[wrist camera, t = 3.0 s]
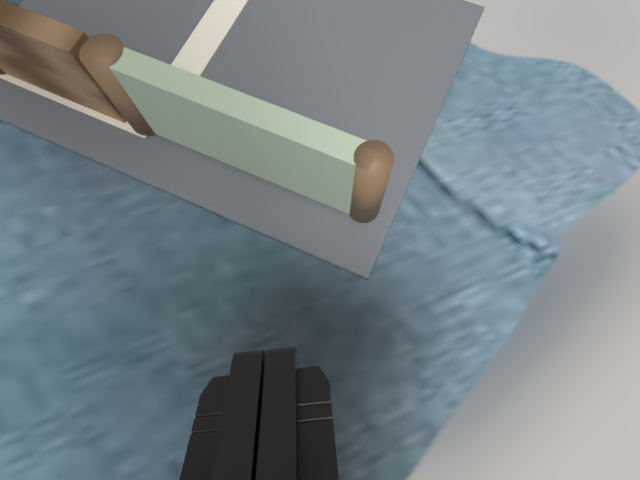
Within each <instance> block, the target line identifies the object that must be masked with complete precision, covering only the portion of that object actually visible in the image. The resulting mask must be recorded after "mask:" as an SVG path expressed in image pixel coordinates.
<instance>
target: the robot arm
mask: <svg viewBox="0 0 640 480" xmlns="http://www.w3.org/2000/svg"><path fill="white" fill-rule="evenodd" d="M180 480H338V470H337V459H336V449H335V439H334V429H333V419H332V408H331V398H330V388H329V381H328V380H327V378H326V377H325V375H324V374H323V372H322V371H321V369H320V368H319V366H318V367H308V368H299V362H298V355H297V349H296V347H290V348H280V349H270V350H267V351H266V354H265V351H264V350H261V351H251V352H241V353H234V355H233V359H232V364H231V370H230V376H220V377H213V378H212V380H211V381H210V382H209V384H208V385H207V387H206V388H205V389H204V391H203V392H202V393H201V395H200V399H199V403H198V407H197V411H196V418H195V419H194V423H193V427H192V435H191V436H190V440H189V444H188V448H187V452H186V456H185V460H184V464H183V468H182V472H181V476H180Z"/></svg>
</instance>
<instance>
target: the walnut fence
mask: <svg viewBox="0 0 640 480" xmlns="http://www.w3.org/2000/svg"><path fill="white" fill-rule="evenodd" d="M88 39H89V37H88V36H87V35H86V33H85V32H84V31H81V30H79V29H76V28H74V27H71V26H69V25H66V24H63V23H61V22H58V21H56V20H53V19H50V18H48V17H45V16H43V15H40V14H37V13H35V12H32V11H30V10H27V9H24V8H22V7H19V6H17V5H14V4H11V3H9V2H6V1H4V0H0V75H5V74H7V75H10V76H12V77H15V78H17V79H19V80H22V81H24V82H27V83H29V84H31V85H34V86H36V87H39V88H41V89H44V90H46V91H48V92H51V93H53V94H56V95H58V96H60V97H63V98H65V99H68V100H70V101H72V102H75V103H77V104H80V105H82V106H84V107H87V108H89V109H92V110H94V111H97V112H99V113H101V114H104V115H106V116H109V117H111V118H113V119H116V120H118V121H121V122H123V123H126V122H127V120H126V119H125V118H124V117H123V115H122V114H121V113H120V111H119V110H118V109H117V108H116V106H115V105H114V104H113V102H112V101H111V100H110V98H109V97H108V96H107V95H106V93H105V92H104V91H103V89H102V88H101V87H100V86H99V84H98V83H97V82H96V80H95V79H94V78H93V77H92V75H91V74H90V73H89V71H88V70H87V69H86V67H85V66H84V65H83V64H82V62H81V61H80V58H79V51H80V48H81V46H82V45H83V43H84V42H85V41H86V40H88Z"/></svg>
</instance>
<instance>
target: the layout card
mask: <svg viewBox="0 0 640 480" xmlns="http://www.w3.org/2000/svg"><path fill="white" fill-rule="evenodd" d="M19 7H22V8H24V9H27V10H30V11H32V12H35V13H37V14H40V15H43V16H45V17H48V18H50V19H53V20H56V21H58V22H61V23H63V24H66V25H69V26H71V27H74V28H76V29H79V30H81V31H84V32H85V33H86V35H87V36H88V37H89V38H90V37H92V36H95V35H98V34H112V35H114V36H116V37H118V38H119V39H120V40H121V42H122V43H123V45H124V47H126V48H128V49H131V50H133V51H136V52H139V53H141V54H144V55H146V56H149V57H152V58H154V59H157V60H159V61H162V62H164V63H167V64H170V65H172V66H175V67H177V68H180V69H183V70H185V71H188V72H190V73H193V74H196V75H198V76H201V77H203V78H206V79H209V80H211V81H214V82H216V83H219V84H222V85H224V86H227V87H229V88H232V89H234V90H237V91H240V92H242V93H245V94H247V95H250V96H253V97H255V98H258V99H260V100H263V101H266V102H268V103H271V104H273V105H276V106H279V107H281V108H284V109H286V110H289V111H292V112H294V113H297V114H299V115H302V116H304V117H307V118H310V119H312V120H315V121H317V122H320V123H323V124H325V125H328V126H330V127H333V128H336V129H338V130H341V131H343V132H346V133H349V134H351V135H354V136H356V137H359V138H362V139H364V140H367V141H368V140H378V141H382V142H384V143H386V144H387V145H388V146H389V147H390V148H391V149H392V151H393V154H394V163H393V167H392V170H391V173H390V177H389V180H388V183H387V187H386V190H385V193H384V197H383V200H382V203H381V207H380V210H379V213H378V216H377V217H376V218H375V219H374V220H373V221H371V222H368V223H359V222H357V221H355V220H354V219H352V218H351V216H350V215H349V214H347V213H345V212H342V211H340V210H337V209H335V208H333V207H330V206H328V205H325V204H323V203H321V202H318V201H316V200H313V199H311V198H308V197H306V196H304V195H301V194H299V193H296V192H294V191H292V190H289V189H287V188H284V187H282V186H280V185H277V184H275V183H272V182H270V181H267V180H265V179H263V178H260V177H258V176H255V175H253V174H251V173H248V172H246V171H243V170H241V169H239V168H236V167H234V166H231V165H229V164H226V163H224V162H222V161H219V160H217V159H214V158H212V157H210V156H207V155H205V154H202V153H200V152H197V151H195V150H193V149H190V148H188V147H185V146H183V145H181V144H178V143H176V142H173V141H171V140H169V139H166V138H164V137H161V136H159V135H156V134H153V135H140V134H138V133H137V132H135V131H134V129H133V128H132V127H131V126H130V124H129V123H128V122H126V123H123V122H121V121H118V120H116V119H113V118H111V117H109V116H106V115H104V114H101V113H99V112H97V111H94V110H92V109H89V108H87V107H84V106H82V105H80V104H77V103H75V102H72V101H70V100H68V99H65V98H63V97H60V96H58V95H56V94H53V93H51V92H48V91H46V90H44V89H41V88H39V87H36V86H34V85H31V84H29V83H27V82H24V81H22V80H19V79H17V78H15V77H12V76H10V75H7V74H5V75H0V120H1V121H3V122H5V123H8V124H10V125H12V126H15V127H17V128H19V129H21V130H24V131H26V132H28V133H31V134H33V135H35V136H38V137H40V138H42V139H44V140H47V141H49V142H51V143H54V144H56V145H58V146H61V147H63V148H65V149H67V150H70V151H72V152H74V153H77V154H79V155H81V156H84V157H86V158H88V159H90V160H93V161H95V162H97V163H100V164H102V165H104V166H107V167H109V168H111V169H113V170H116V171H118V172H120V173H123V174H125V175H127V176H130V177H132V178H134V179H136V180H139V181H141V182H143V183H146V184H148V185H150V186H153V187H155V188H157V189H159V190H162V191H164V192H166V193H169V194H171V195H173V196H176V197H178V198H180V199H182V200H185V201H187V202H189V203H192V204H194V205H196V206H199V207H201V208H203V209H205V210H208V211H210V212H212V213H215V214H217V215H219V216H221V217H224V218H226V219H228V220H231V221H233V222H235V223H238V224H240V225H242V226H244V227H247V228H249V229H251V230H254V231H256V232H258V233H261V234H263V235H265V236H267V237H270V238H272V239H274V240H277V241H279V242H281V243H284V244H286V245H288V246H290V247H293V248H295V249H297V250H300V251H302V252H304V253H307V254H309V255H311V256H313V257H316V258H318V259H320V260H323V261H325V262H327V263H330V264H332V265H334V266H336V267H339V268H341V269H343V270H346V271H348V272H350V273H353V274H355V275H357V276H359V277H362V278H364V279H366V280H368V277H369V275H370V273H371V270H372V268H373V266H374V263H375V261H376V259H377V256H378V254H379V252H380V249H381V247H382V245H383V242H384V240H385V238H386V236H387V233H388V231H389V229H390V226H391V224H392V222H393V219H394V217H395V215H396V212H397V210H398V208H399V205H400V203H401V201H402V198H403V196H404V194H405V191H406V189H407V187H408V184H409V182H410V180H411V178H412V175H413V173H414V171H415V168H416V166H417V164H418V161H419V159H420V157H421V154H422V152H423V150H424V147H425V145H426V143H427V140H428V138H429V136H430V133H431V131H432V129H433V126H434V124H435V122H436V119H437V117H438V115H439V113H440V110H441V108H442V106H443V103H444V101H445V99H446V96H447V94H448V92H449V89H450V87H451V85H452V82H453V80H454V78H455V75H456V73H457V71H458V68H459V66H460V64H461V61H462V59H463V57H464V55H465V52H466V50H467V48H468V45H469V43H470V41H471V38H472V36H473V34H474V31H475V29H476V26H477V24H478V22H479V20H480V17H481V15H482V13H483V10H484V7H482V6H479V5H476V4H473V3H470V2H467V1H464V0H23V1H22V2H21V3H20V5H19Z"/></svg>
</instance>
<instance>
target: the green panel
mask: <svg viewBox="0 0 640 480" xmlns="http://www.w3.org/2000/svg"><path fill="white" fill-rule="evenodd" d="M79 58H80V61H81V62H82V64H83V65H84V66H85V67H86V69H87V70H88V71H89V73H90V74H91V75H92V77H93V78H94V79H95V80H96V82H97V83H98V84H99V86H100V87H101V88H102V89H103V91H104V92H105V93H106V95H107V96H108V97H109V98H110V100H111V101H112V102H113V104H114V105H115V106H116V108H117V109H118V110H119V111H120V113H121V114H122V115H123V117H124V118H125V119H126V120H127V122H128V123H129V124H130V126H131V127H132V128H133V129H134V131H135V132H137V133H138V134H140V135H153V134H156V135H159V136H161V137H164V138H166V139H169V140H171V141H173V142H176V143H178V144H181V145H183V146H185V147H188V148H190V149H193V150H195V151H197V152H200V153H202V154H205V155H207V156H210V157H212V158H214V159H217V160H219V161H222V162H224V163H226V164H229V165H231V166H234V167H236V168H239V169H241V170H243V171H246V172H248V173H251V174H253V175H255V176H258V177H260V178H263V179H265V180H267V181H270V182H272V183H275V184H277V185H280V186H282V187H284V188H287V189H289V190H292V191H294V192H296V193H299V194H301V195H304V196H306V197H308V198H311V199H313V200H316V201H318V202H321V203H323V204H325V205H328V206H330V207H333V208H335V209H337V210H340V211H342V212H345V213H347V214H349V215H350V216H351V218H352V219H354V220H355V221H357V222H359V223H368V222H371V221H373V220H374V219H375V218H376V217H377V216H378V213H379V210H380V207H381V203H382V200H383V197H384V193H385V190H386V187H387V183H388V180H389V177H390V173H391V170H392V167H393V163H394V154H393V151H392V149H391V148H390V147H389V146H388V145H387V144H386V143H384V142H382V141H378V140H368V141H367V140H364V139H362V138H359V137H356V136H354V135H351V134H349V133H346V132H343V131H341V130H338V129H336V128H333V127H330V126H328V125H325V124H323V123H320V122H317V121H315V120H312V119H310V118H307V117H304V116H302V115H299V114H297V113H294V112H292V111H289V110H286V109H284V108H281V107H279V106H276V105H273V104H271V103H268V102H266V101H263V100H260V99H258V98H255V97H253V96H250V95H247V94H245V93H242V92H240V91H237V90H234V89H232V88H229V87H227V86H224V85H222V84H219V83H216V82H214V81H211V80H209V79H206V78H203V77H201V76H198V75H196V74H193V73H190V72H188V71H185V70H183V69H180V68H177V67H175V66H172V65H170V64H167V63H164V62H162V61H159V60H157V59H154V58H152V57H149V56H146V55H144V54H141V53H139V52H136V51H133V50H131V49H128V48H126V47H124V45H123V43H122V42H121V40H120V39H119V38H118V37H116V36H114V35H112V34H98V35H95V36H92V37H90V38H89V39H88V40H86V41H85V42H84V43H83V45H82V46H81V48H80V51H79Z"/></svg>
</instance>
